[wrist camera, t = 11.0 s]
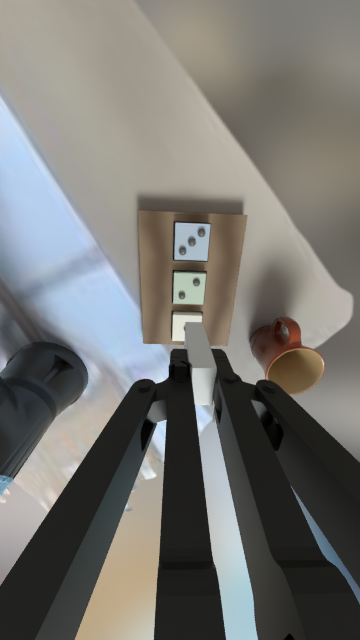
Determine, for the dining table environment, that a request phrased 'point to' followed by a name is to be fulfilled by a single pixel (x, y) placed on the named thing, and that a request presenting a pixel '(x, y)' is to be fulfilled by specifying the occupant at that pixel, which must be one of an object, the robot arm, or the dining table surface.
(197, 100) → the dining table surface
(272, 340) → the mug
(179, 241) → the tile three
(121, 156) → the dining table surface
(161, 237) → the board
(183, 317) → the tile one
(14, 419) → the robot arm
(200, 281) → the tile two
